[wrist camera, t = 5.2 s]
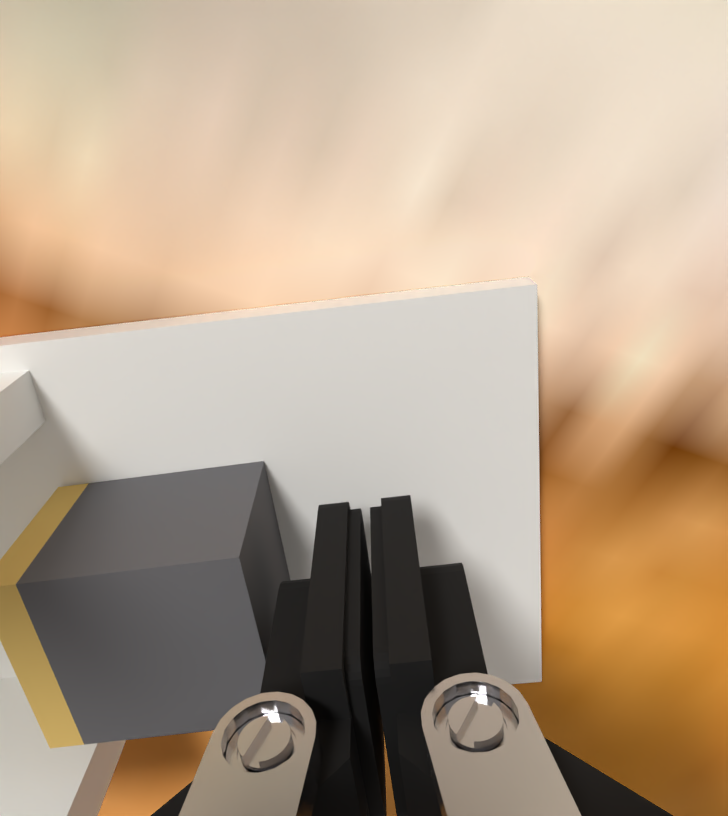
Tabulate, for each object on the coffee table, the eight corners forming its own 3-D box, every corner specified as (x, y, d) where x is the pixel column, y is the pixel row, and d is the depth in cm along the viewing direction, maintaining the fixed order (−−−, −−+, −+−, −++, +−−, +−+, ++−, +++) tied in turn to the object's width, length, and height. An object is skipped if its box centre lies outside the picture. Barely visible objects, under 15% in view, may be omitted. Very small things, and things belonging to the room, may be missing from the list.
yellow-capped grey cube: (263, 460, 13) (239, 557, 10) (295, 602, 14) (281, 722, 11) (58, 486, 13) (-24, 588, 10) (109, 625, 14) (50, 748, 11)
